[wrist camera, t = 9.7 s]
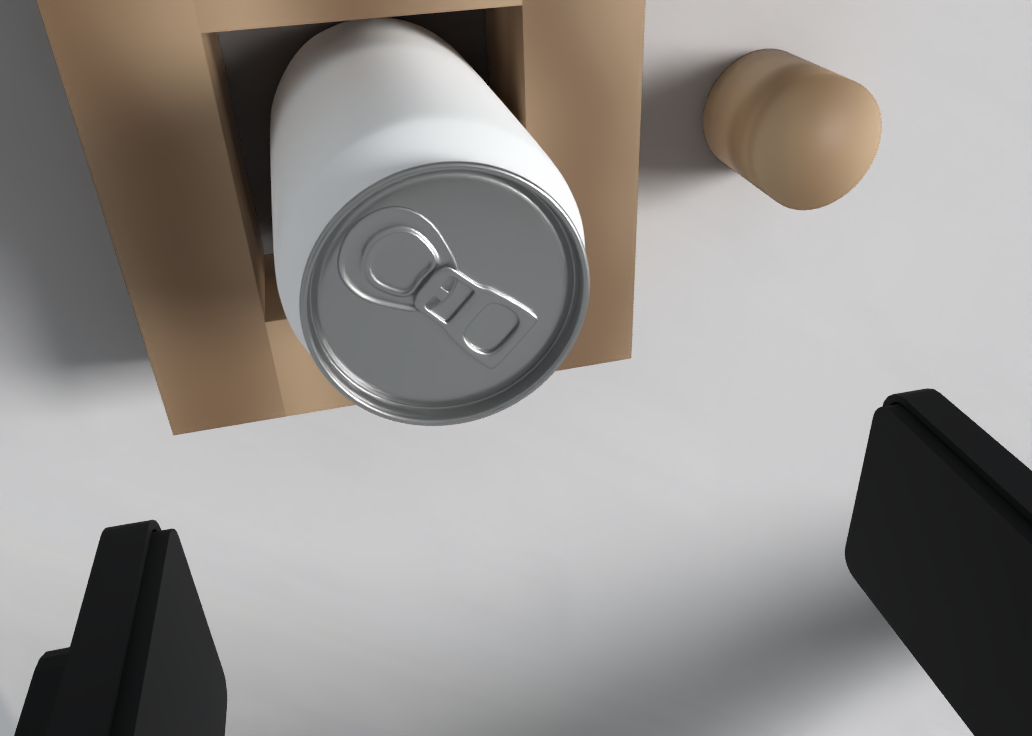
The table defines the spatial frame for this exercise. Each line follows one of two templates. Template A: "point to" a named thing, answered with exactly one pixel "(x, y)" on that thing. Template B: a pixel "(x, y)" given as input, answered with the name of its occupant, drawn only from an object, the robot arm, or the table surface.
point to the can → (418, 228)
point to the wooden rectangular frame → (227, 195)
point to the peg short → (792, 128)
